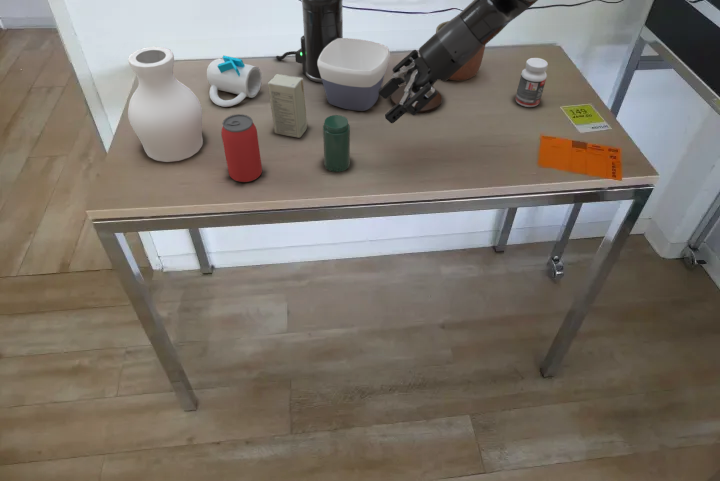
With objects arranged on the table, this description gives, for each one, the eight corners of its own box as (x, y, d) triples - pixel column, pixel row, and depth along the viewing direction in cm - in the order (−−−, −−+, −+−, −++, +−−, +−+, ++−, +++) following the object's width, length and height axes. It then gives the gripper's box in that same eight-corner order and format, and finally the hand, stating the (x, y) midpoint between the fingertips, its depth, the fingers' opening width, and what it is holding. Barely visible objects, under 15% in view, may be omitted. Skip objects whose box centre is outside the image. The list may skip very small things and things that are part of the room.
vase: (149, 125, 124) (123, 37, 109) (214, 126, 124) (197, 39, 110) (130, 164, 114) (99, 74, 99) (200, 165, 114) (180, 75, 99)
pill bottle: (539, 109, 131) (550, 70, 124) (514, 106, 132) (524, 67, 125) (539, 96, 135) (549, 58, 128) (515, 93, 136) (524, 55, 129)
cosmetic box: (307, 128, 124) (304, 77, 115) (300, 139, 121) (296, 88, 112) (281, 122, 125) (276, 72, 117) (272, 133, 122) (267, 82, 114)
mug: (207, 43, 130) (253, 53, 127) (221, 70, 138) (264, 80, 135) (184, 83, 126) (230, 95, 123) (200, 108, 134) (244, 119, 131)
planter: (446, 56, 149) (452, 15, 141) (488, 70, 144) (496, 28, 136) (422, 74, 141) (426, 32, 134) (465, 90, 136) (472, 47, 129)
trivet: (381, 104, 131) (381, 101, 131) (404, 82, 139) (404, 79, 138) (428, 118, 127) (428, 115, 127) (449, 95, 135) (449, 92, 134)
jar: (319, 166, 114) (317, 124, 107) (332, 153, 117) (331, 111, 110) (341, 175, 112) (340, 132, 105) (354, 161, 116) (354, 118, 108)
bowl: (375, 120, 126) (376, 75, 118) (311, 108, 130) (309, 63, 122) (393, 88, 137) (396, 44, 129) (334, 77, 140) (333, 33, 132)
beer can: (230, 164, 114) (221, 112, 106) (263, 162, 115) (256, 111, 106) (227, 184, 110) (217, 132, 101) (261, 183, 110) (254, 131, 102)
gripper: (430, 16, 103) (366, 76, 110) (447, 53, 93) (376, 116, 100) (454, 43, 107) (391, 99, 114) (473, 81, 97) (403, 140, 104)
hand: (384, 107), depth 107 cm, fingers open, 8 cm apart
